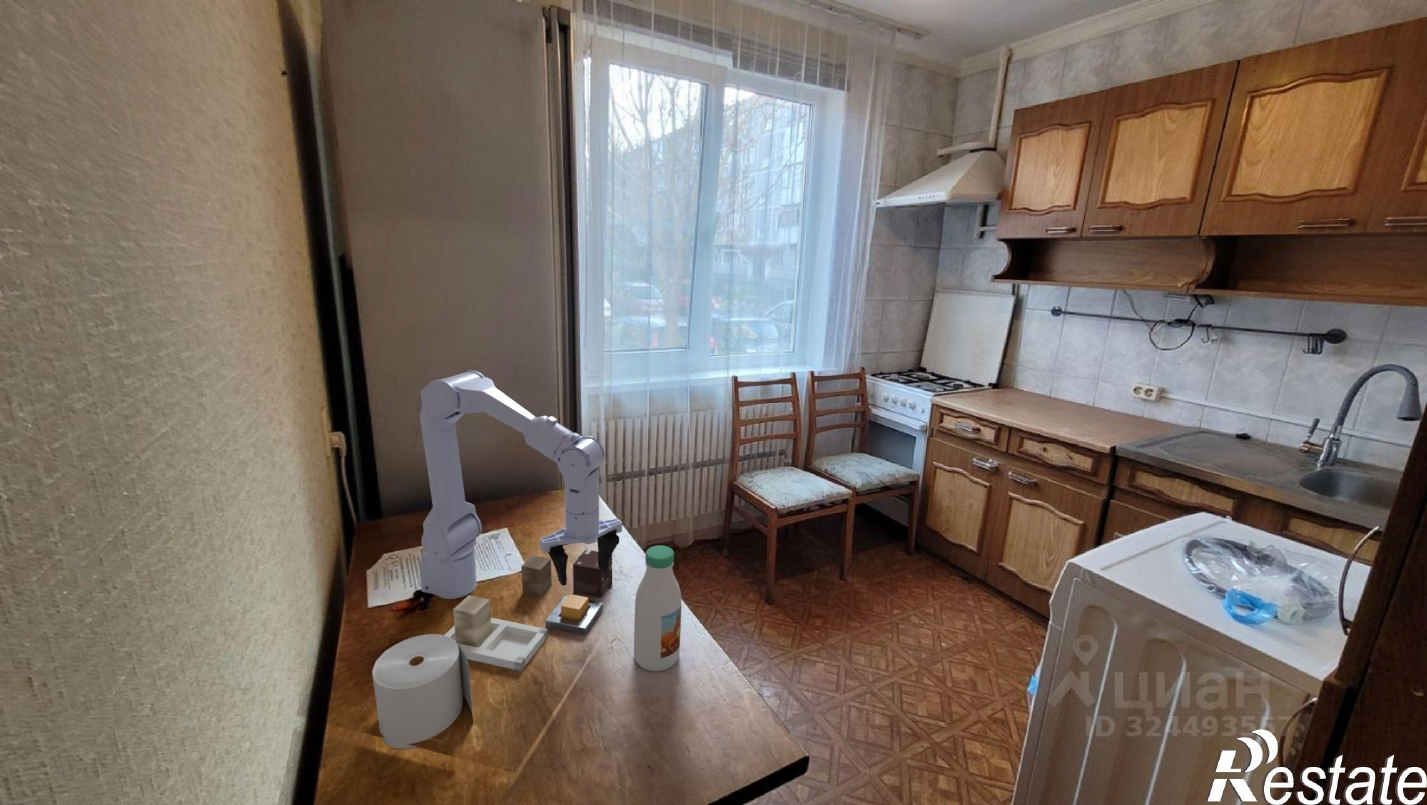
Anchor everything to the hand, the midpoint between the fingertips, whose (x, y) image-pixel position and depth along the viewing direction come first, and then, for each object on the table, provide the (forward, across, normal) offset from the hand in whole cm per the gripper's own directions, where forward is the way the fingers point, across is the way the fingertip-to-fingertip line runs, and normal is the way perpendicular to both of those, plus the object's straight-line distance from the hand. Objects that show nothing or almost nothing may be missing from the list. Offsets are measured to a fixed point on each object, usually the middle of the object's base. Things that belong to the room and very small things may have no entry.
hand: (582, 576), depth 98 cm
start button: (+8, -2, 0) cm, 8 cm away
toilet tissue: (+10, -27, -8) cm, 30 cm away
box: (+10, +5, +7) cm, 13 cm away
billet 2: (+9, -4, +12) cm, 16 cm away
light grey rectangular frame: (+9, -16, +1) cm, 18 cm away
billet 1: (+8, -18, +4) cm, 20 cm away
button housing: (+9, -2, 0) cm, 9 cm away
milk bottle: (+10, +7, -15) cm, 19 cm away
